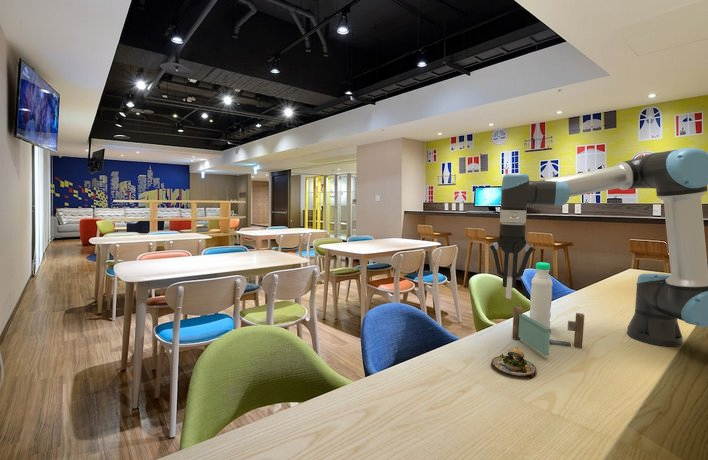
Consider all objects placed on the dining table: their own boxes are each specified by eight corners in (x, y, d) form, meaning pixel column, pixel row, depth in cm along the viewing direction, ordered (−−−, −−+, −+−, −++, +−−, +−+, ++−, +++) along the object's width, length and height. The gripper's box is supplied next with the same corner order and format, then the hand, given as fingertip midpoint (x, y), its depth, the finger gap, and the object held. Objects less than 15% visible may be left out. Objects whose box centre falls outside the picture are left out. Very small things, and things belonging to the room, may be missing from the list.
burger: (482, 364, 108) (483, 340, 107) (512, 358, 113) (513, 334, 112) (514, 384, 97) (516, 356, 96) (546, 376, 102) (548, 350, 101)
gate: (517, 337, 125) (519, 314, 124) (522, 336, 125) (524, 314, 125) (543, 355, 111) (545, 329, 110) (549, 354, 111) (550, 329, 110)
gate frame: (579, 343, 124) (581, 311, 123) (582, 348, 120) (584, 315, 119) (511, 335, 131) (513, 305, 130) (512, 339, 127) (514, 308, 126)
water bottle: (552, 332, 134) (556, 265, 131) (531, 331, 135) (535, 264, 133) (546, 326, 141) (550, 261, 138) (526, 324, 142) (530, 260, 140)
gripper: (490, 223, 113) (486, 298, 116) (537, 225, 109) (532, 302, 111) (490, 222, 120) (486, 292, 123) (533, 223, 116) (529, 296, 118)
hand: (508, 297), depth 117 cm, fingers closed
